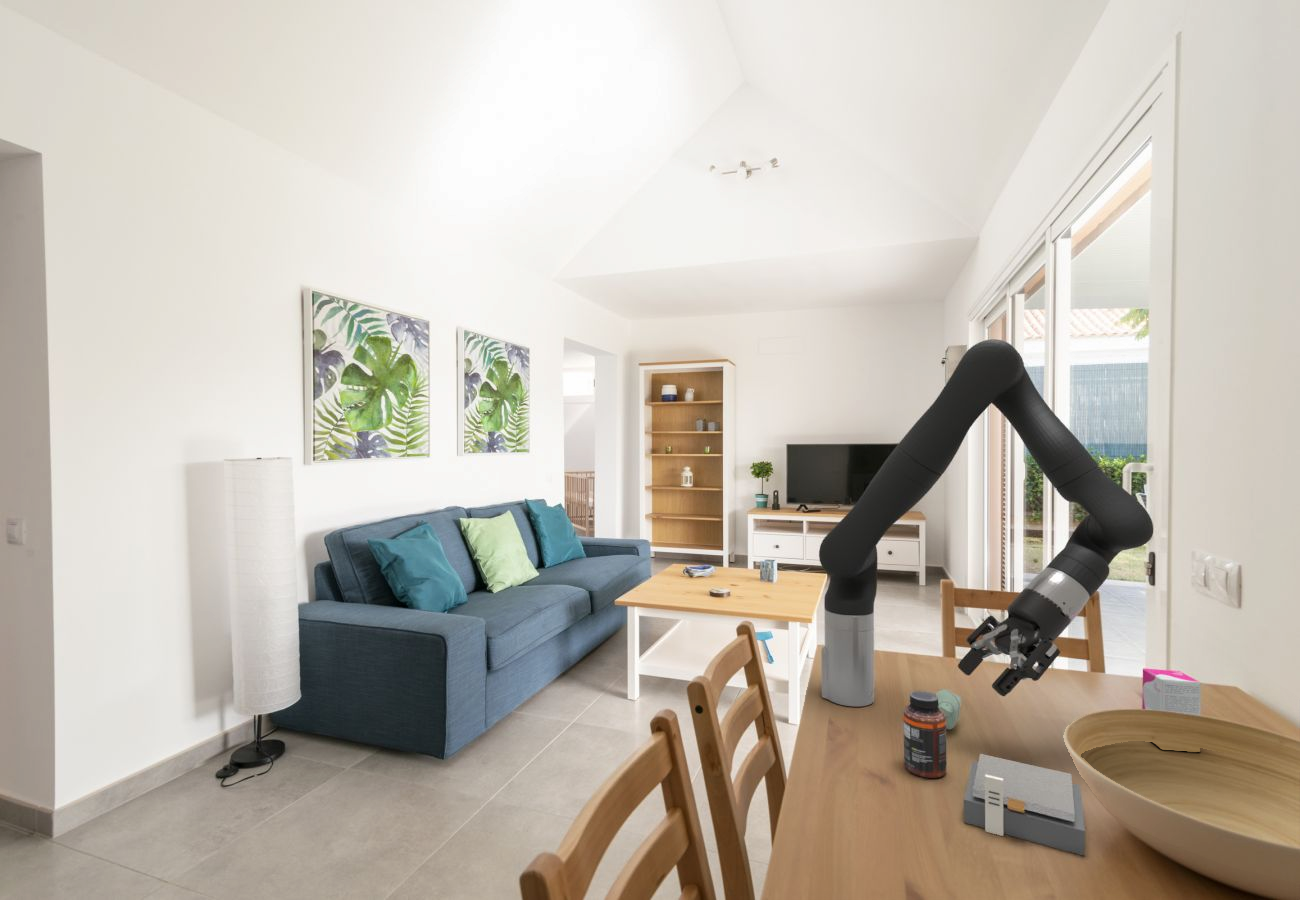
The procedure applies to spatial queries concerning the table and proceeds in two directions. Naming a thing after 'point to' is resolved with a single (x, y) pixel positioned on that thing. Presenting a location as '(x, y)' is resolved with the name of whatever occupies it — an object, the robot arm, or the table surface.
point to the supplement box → (1171, 692)
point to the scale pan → (1028, 787)
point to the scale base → (1023, 817)
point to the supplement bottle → (924, 736)
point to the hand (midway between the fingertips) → (979, 681)
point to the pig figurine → (949, 706)
